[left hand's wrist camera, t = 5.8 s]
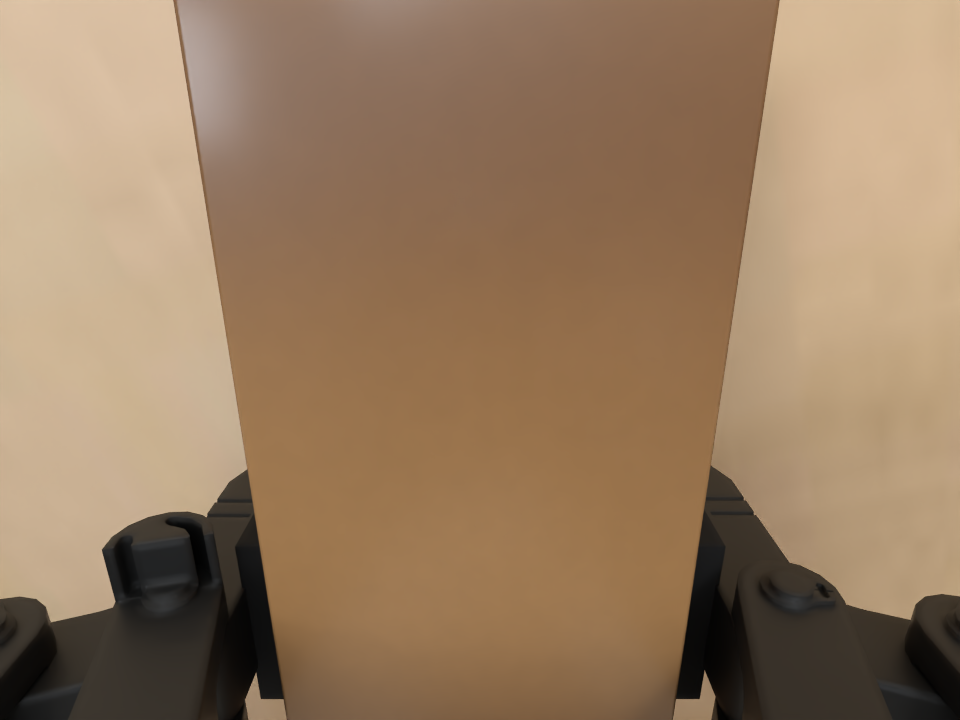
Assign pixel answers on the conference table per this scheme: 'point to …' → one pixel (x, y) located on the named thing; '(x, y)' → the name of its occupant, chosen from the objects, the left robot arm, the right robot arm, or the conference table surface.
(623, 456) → the post
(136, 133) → the conference table surface
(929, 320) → the conference table surface
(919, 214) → the conference table surface
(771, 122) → the conference table surface
